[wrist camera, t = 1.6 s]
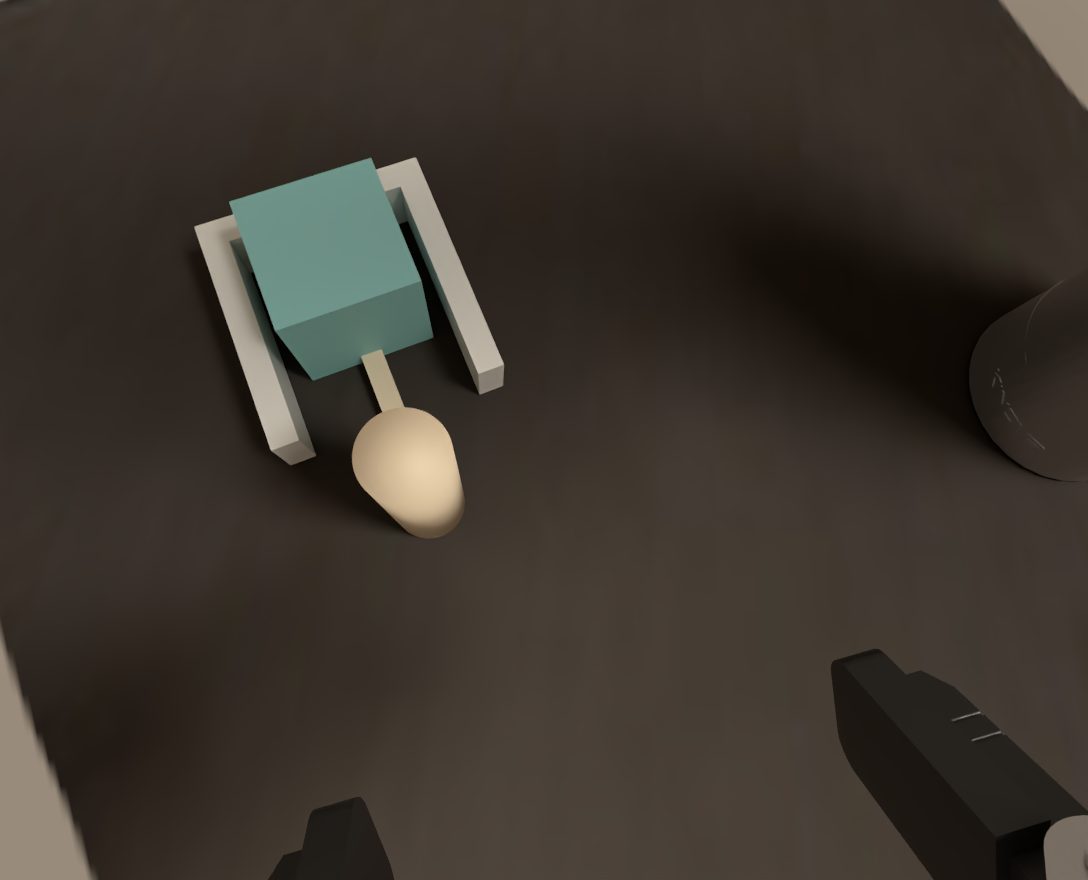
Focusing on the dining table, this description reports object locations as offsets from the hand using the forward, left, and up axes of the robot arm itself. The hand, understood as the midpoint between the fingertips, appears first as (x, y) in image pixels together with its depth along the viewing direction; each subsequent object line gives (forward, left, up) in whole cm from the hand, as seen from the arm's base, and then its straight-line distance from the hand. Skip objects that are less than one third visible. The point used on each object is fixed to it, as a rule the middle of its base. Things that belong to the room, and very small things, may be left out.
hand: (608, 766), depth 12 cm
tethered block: (+2, -15, -20) cm, 25 cm away
